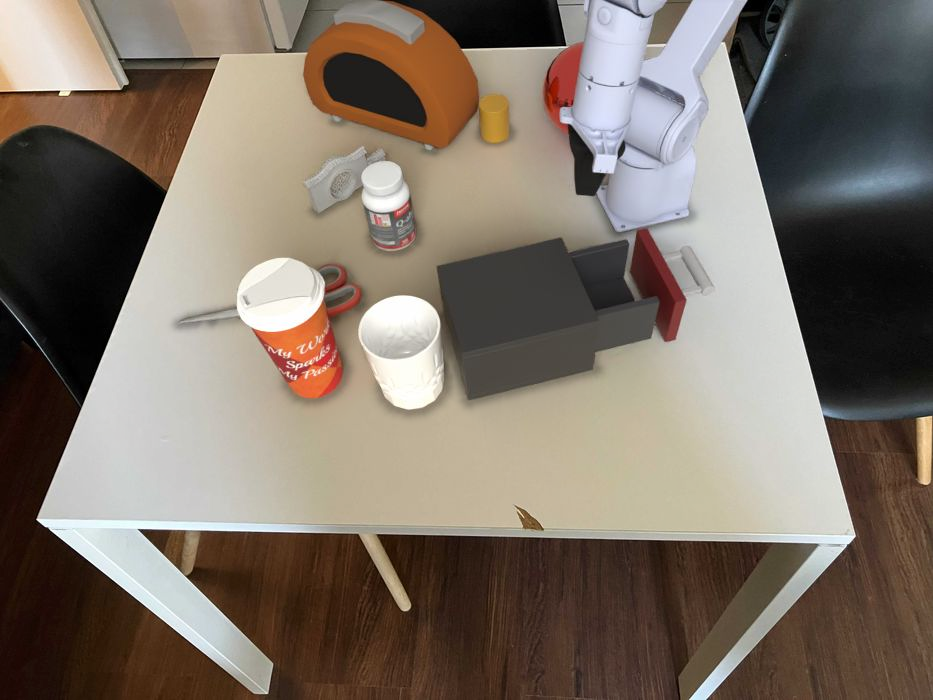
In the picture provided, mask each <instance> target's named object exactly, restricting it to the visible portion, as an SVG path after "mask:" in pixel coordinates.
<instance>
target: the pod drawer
mask: <svg viewBox="0 0 933 700" xmlns="http://www.w3.org/2000/svg"><path fill="white" fill-rule="evenodd" d="M629 249H630V242H629V239H627V238H625V239H621V240H616V241H611V242H608V243H604V244H603V243H602V244H598V245H594V246H590V247H586V248H582V249H578V250H574V251H573V250H572V251H568V252H569V255H570V257H571V259H572V261H573V264H574V266H575V268H576V270H577V272H578V275H579V277H580V279H581V281H582V284H583V286H584V288H585V290H586V293H587V295H588V297H589V299H590V301H591V304H592V306H593V308H594V310H595V313H596V315H597V317H598V319H599V325H598V333H597V341H596V349H595V353H598V352H602V351H605V350H610V349H614V348H617V347H623V346H627V345H630V344H631V345H632V344H635V343H639V342H642V341H647V340H651V339H652V337H653V333H654V328H655V325H656V327H657V329H658V331H659V333H660V335H661V337H662V339H663V341H664V343H668V342H672V341H676V340H677V336H678V332H679V328H680V326H681V323H682V318H683V315H684V310H685V308H686V304H687V298H686V297H689V296H694V295H697V294H702V296H709V295H711V294H713V293H714V292H715V290H716V287H715V286H714V284H713V282H712V280H711V278H710V276H709V275H708V273H707V272H706V270H705V268H704V267H703V265H702V263H701V261H700V259H699V258H698V256H697V255H696V253H695V251H694V249H693V248H692V247H691V245H685V246H683V247H681V248H680V249H679V251H676V252H672V253H668V254H667V253H666V254H664V255H663V254H662V252H661V250H660V249H659V247H658V245H657V244H656V242H655V240H654V237H653V236H652V234H651V232H650V230H649V229H648V227H645V228H644V227H643V228H639V229H636V232H635V238H634V243H633V250H632V256H631V261H630V268H629V274H630V276H631V278H632V280H633V282H634V284H635V285H636V288H637V289H638V292H639V294H640V296H641V297H642V299H638V300H635V297H634V295H633V293H632V291H631V289H630V287H629V285H628V283H627V281H626V279H625V275H626V273H625V272H626V268H627V262H628V256H629V255H628V254H629ZM677 260H682V262H683V263H684V266H685V267H686V268H687V270H688V272H689V274H690V276H691V277H692V279H693V281H694V282H695V284H696V286H691V287H687V288H684V289H683V288H682V289H681V287H680V285H679V283H678V282H677V279H676V277H675V276H674V274H673V272H672V270H671V268H670V267H669V265H668V263H669V262H673V261H677Z"/></svg>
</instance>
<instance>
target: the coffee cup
mask: <svg viewBox="0 0 933 700" xmlns="http://www.w3.org/2000/svg"><path fill="white" fill-rule="evenodd" d="M317 270H318V269H315V268H313V267H311V266H309V265H308V264H306V263H304V262H303V261H300V260H297V259H295V258H291V257H277V258H272V259H268V260H266V261H262V262H261V263H259V264H257V265H256V266H254V267H253V268H251V269H250V270H249V271H247V273H246V274H245V275H244V277H243V278H242V279H241V281H240V283H239V285H238V289H237V299H236V308H237V310H238V313H239V315H240V316H239V317H240V319H241V320H242V321H243V322H244V324H246V325H247V326H249V327H250V328H251V330H252V332H253V334H254V335H255V338H257V340H258V341H259V343H260V344H261V346H262V347H263V349H264V350H265V352H266V353H267V354H268V356H269V357H270V359H271V361H272V362H273V364H274V365H275V367H276V369H277V370H278V371H279V373H280V374H281V376H282V377H283V379H284V381H285V382H286V383H287V385H288V386H289V388H290V389H291V390H292V391H293V392H294V393H295V394H296V395H298V397H302V398H305V399H318V398H323V397H324V396H326V395H329V394H330V393H332V392H333V391H334V390H335V389H336V388H337V387H338V386H339V385H340V382H341V380H342V378H343V365H342V360H341V356H340V353H339V352H340V351H339V348H338V344H337V340H336V336H335V334H334V329H333V326H332V323H331V318H329V315H328V312H327V309H328V308H327V305H326V304H327V303H325V301H324V287H325V286H326V282H325V279H324V278H323V277H324V276H321V275H320V273H319V272H318V271H317Z"/></svg>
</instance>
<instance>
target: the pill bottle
mask: <svg viewBox="0 0 933 700" xmlns="http://www.w3.org/2000/svg"><path fill="white" fill-rule="evenodd" d="M361 178H362V183H363V186H362V187H363V189H362V190H361V203H362V206H363V210H364V214H365V218H366V222H367V226H368V230H369V234H370V235H369V236H370V238H371V241H372V243H373V244H374V245H375V246H376V247H377V248H378V249H380V250H382V251H386V252H396V251H397V252H398V251H401V250H403V249H406V248H407V247H409V246H410V245H411V244H412V243H413V242H414V241H415V240H416V237H417V224H416V219H415V213H414V212H415V211H414V208H413V202H412V197H411V191H410V188H409V186H408V184H407V182H406V181H405V180H404V175H403V171H402V168H401V166H400V165H398V164H397V163H395V162H393V161H389V160H385V161H379V162H376V163H373V164H371V165H369V166H368V167H367V168H365V170H364V171H363V173H362V176H361Z"/></svg>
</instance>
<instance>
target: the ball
mask: <svg viewBox="0 0 933 700" xmlns="http://www.w3.org/2000/svg"><path fill="white" fill-rule="evenodd" d="M583 43H584V41H581V42H577V43H574V44H572V45H570V46H568V47H566V48H565V49H563V50H562V51H561V52H559V53H558V54H557V56H556V57H555V58H554V59H553V60H552V61H551V62H550V64H549V66H548V68H547V70H546V72H545V75H544V77H543V81H542V87H541V89H542V91H541V93H542V94H541V98H542V99H541V100H542V104H543V107H544V111H545V112H546V115H547V117H548V119H549V120H550V122H551V123H552V124H553V125H554V126H555V127H556V129H558V130H559V131H561V132H562V133H564V134H566V135H567V136H569V134H568V124H565V123H562V122H560V118H559V113H560V108H562V107H572V105H573V102H574V96H575V90H576V85H577V78H578V72H579V66H580V60H581V54H582V49H583Z"/></svg>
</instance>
